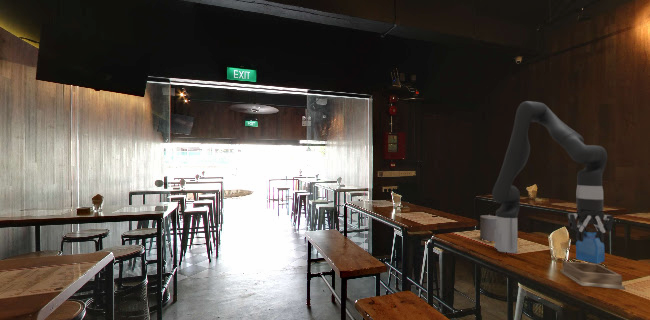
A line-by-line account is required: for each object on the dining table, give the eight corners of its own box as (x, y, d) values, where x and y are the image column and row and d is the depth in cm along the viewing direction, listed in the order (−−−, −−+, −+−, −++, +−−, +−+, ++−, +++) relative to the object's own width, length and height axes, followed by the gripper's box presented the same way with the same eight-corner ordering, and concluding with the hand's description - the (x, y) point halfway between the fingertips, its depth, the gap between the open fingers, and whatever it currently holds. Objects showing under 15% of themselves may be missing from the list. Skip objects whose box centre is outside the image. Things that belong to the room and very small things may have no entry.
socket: (581, 285, 103) (581, 272, 103) (560, 271, 115) (560, 260, 115) (624, 289, 100) (624, 276, 100) (598, 275, 112) (598, 263, 112)
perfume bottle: (597, 263, 103) (597, 231, 103) (576, 258, 109) (575, 227, 109) (604, 261, 106) (604, 229, 106) (583, 256, 112) (583, 226, 112)
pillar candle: (476, 238, 167) (476, 213, 167) (491, 237, 168) (491, 212, 168) (487, 243, 157) (487, 216, 157) (503, 242, 158) (503, 216, 158)
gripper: (573, 197, 106) (573, 242, 106) (620, 199, 103) (620, 245, 102) (561, 195, 113) (562, 237, 113) (605, 196, 110) (605, 240, 110)
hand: (590, 241), depth 108 cm, fingers closed on perfume bottle, 5 cm apart
